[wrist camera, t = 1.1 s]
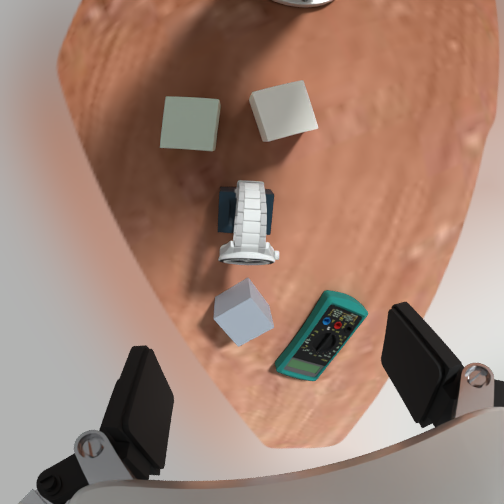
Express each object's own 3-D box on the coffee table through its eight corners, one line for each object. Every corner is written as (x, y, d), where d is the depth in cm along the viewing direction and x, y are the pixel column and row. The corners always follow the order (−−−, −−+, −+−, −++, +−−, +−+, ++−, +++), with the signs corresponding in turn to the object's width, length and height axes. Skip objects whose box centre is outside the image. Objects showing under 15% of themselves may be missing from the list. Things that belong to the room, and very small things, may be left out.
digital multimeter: (365, 301, 39) (373, 312, 36) (311, 372, 44) (315, 385, 41) (326, 283, 37) (333, 294, 35) (272, 361, 42) (274, 375, 39)
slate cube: (215, 296, 36) (213, 318, 32) (248, 276, 36) (250, 297, 31) (237, 323, 38) (238, 346, 34) (268, 305, 38) (274, 327, 33)
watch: (218, 240, 34) (213, 284, 23) (221, 170, 31) (216, 185, 21) (266, 242, 34) (281, 287, 24) (272, 174, 31) (292, 190, 21)
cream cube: (248, 99, 28) (252, 92, 23) (292, 88, 28) (302, 80, 23) (262, 141, 30) (268, 141, 25) (305, 130, 30) (318, 128, 25)
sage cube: (175, 103, 28) (165, 96, 23) (220, 105, 28) (219, 99, 24) (170, 146, 29) (159, 147, 25) (215, 149, 30) (212, 151, 25)
